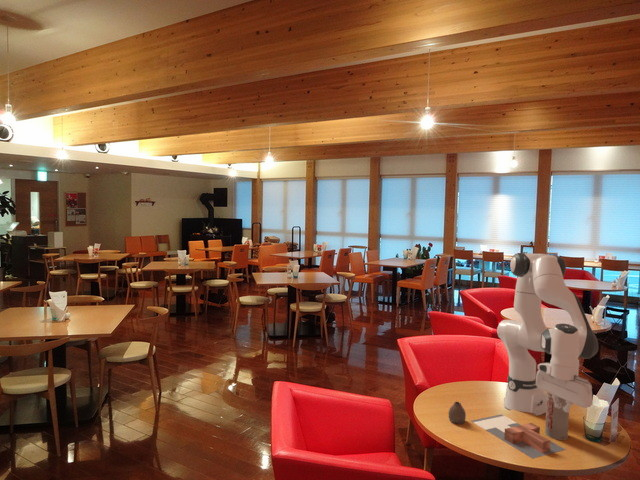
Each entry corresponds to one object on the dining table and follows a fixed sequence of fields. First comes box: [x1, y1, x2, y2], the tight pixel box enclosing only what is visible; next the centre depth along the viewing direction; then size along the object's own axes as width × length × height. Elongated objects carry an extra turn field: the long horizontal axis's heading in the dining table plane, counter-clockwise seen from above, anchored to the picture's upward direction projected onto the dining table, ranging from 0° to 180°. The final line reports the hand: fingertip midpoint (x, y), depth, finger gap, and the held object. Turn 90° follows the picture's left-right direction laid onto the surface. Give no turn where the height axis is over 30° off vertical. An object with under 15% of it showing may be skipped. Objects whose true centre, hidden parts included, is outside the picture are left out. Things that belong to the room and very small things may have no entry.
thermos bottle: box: [544, 392, 570, 441], centre depth 180 cm, size 8×8×28 cm
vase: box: [448, 401, 467, 425], centre depth 191 cm, size 7×7×9 cm
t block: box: [504, 422, 552, 453], centre depth 173 cm, size 14×13×4 cm
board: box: [471, 414, 566, 459], centre depth 181 cm, size 17×32×1 cm, turn 23°
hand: (561, 409), depth 161 cm, fingers closed
